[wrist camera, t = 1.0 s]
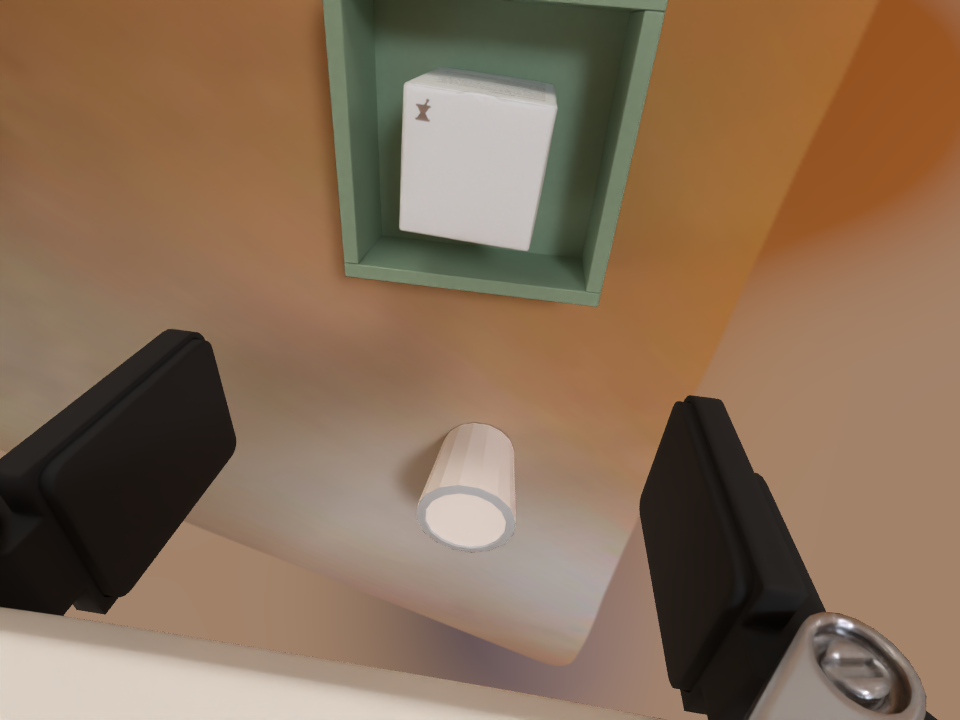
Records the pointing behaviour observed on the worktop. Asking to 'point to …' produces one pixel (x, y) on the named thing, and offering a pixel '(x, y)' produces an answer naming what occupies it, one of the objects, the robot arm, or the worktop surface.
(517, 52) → the green square tray
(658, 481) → the robot arm
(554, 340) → the worktop surface
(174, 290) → the worktop surface
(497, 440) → the shot glass
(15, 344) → the worktop surface
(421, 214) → the product box
